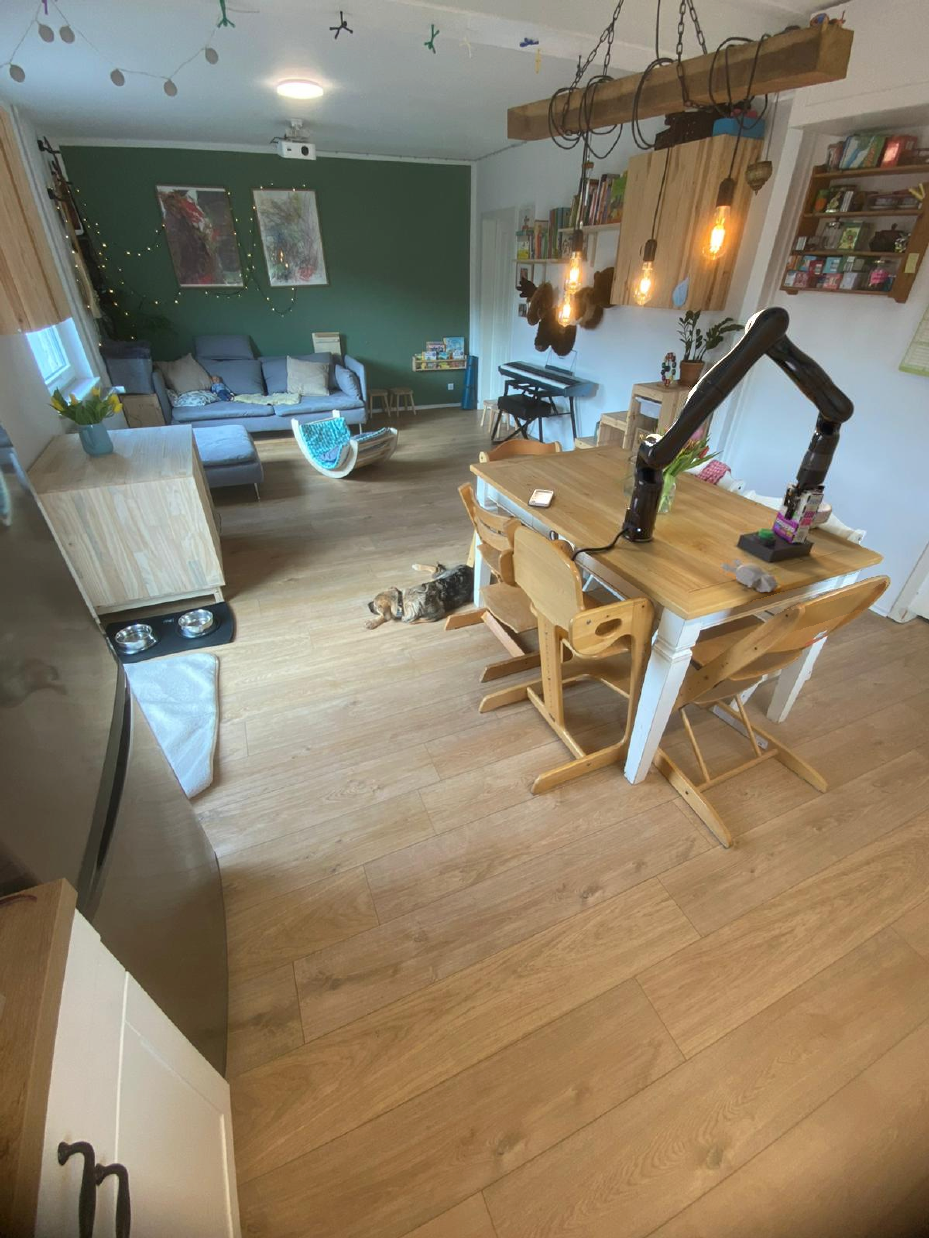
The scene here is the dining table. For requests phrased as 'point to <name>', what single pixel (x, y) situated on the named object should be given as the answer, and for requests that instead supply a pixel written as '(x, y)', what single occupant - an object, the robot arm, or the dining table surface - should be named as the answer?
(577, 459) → the dining table surface
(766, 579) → the bunny figurine
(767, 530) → the button
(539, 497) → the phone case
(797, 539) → the candy bar box
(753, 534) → the black button box
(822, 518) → the paper bowls
